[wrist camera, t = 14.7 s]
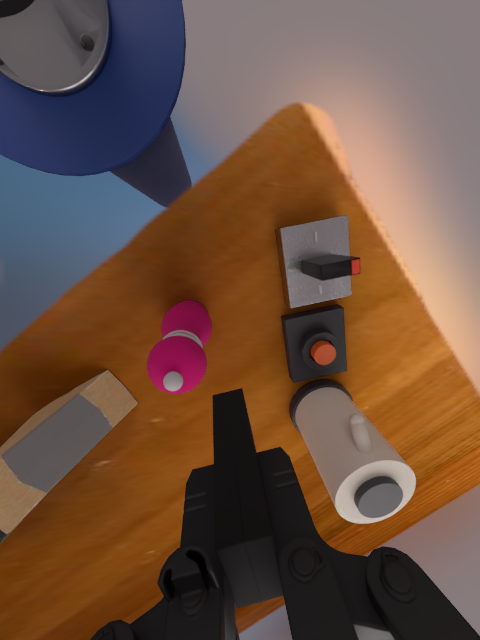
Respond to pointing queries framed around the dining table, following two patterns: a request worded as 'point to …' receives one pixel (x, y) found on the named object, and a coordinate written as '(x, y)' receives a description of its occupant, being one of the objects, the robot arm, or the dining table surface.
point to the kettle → (351, 454)
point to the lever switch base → (306, 245)
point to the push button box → (314, 341)
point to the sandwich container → (57, 443)
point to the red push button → (323, 352)
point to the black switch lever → (331, 266)
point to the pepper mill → (180, 348)
